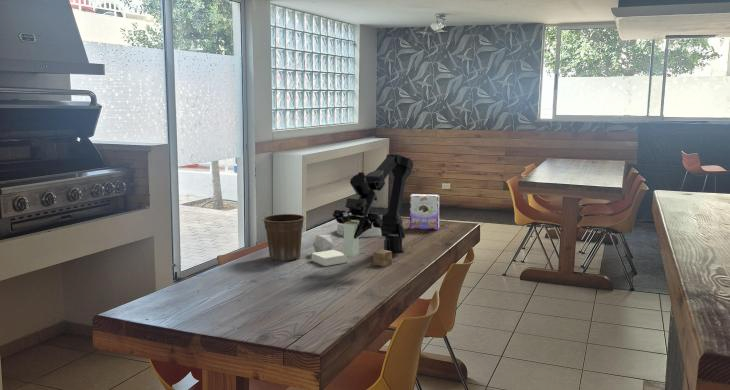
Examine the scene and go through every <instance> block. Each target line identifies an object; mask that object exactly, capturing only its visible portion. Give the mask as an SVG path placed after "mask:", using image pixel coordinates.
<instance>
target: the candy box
mask: <svg viewBox="0 0 730 390" xmlns="http://www.w3.org/2000/svg"><path fill="white" fill-rule="evenodd" d="M439 228H440V194H431V193H430V194H423V193H422V194H421V193H411V195H409V229H411V230H412V229H413V230H433V231H434V230H435V231H436V230H438V231H439Z"/></svg>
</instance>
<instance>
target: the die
mask: <svg viewBox="0 0 730 390" xmlns="http://www.w3.org/2000/svg"><path fill="white" fill-rule="evenodd" d="M312 246H313V248H314V252H315V253H316V252H322V251H329V250H334V246H335V245H334V243H333V239H332V237H331V235H330V234H318V235H316V236H315V239H314V241H313V243H312Z"/></svg>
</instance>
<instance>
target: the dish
mask: <svg viewBox="0 0 730 390" xmlns="http://www.w3.org/2000/svg"><path fill="white" fill-rule="evenodd" d="M351 221H354V220H351ZM355 222H358V223H359V221H355ZM371 227H372V228H371V229H368V230H366V231H365V232H364V233H362V234H361V235H360V236H359V238H373V237H378V236H382V233H381V228H376V227H374V226H373V224H372V225H371ZM336 229H337V231H336V233H337V235H338V236H339V235H340V236H343V231H344V224H340V223H338V222H337V228H336ZM343 237H344V236H343Z"/></svg>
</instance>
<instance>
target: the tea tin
mask: <svg viewBox="0 0 730 390" xmlns="http://www.w3.org/2000/svg"><path fill="white" fill-rule="evenodd" d="M358 225H359V223H358V222H355V221H348V222H345V223H344V236H343V253H344V255H347V257H348V256H349V257H355V256H358V255H359V254H360V243H359V242H360V237H359V236H358V237H357V238H356V239H355V238H354V234H355V232H356V230H357V227H358Z"/></svg>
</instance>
